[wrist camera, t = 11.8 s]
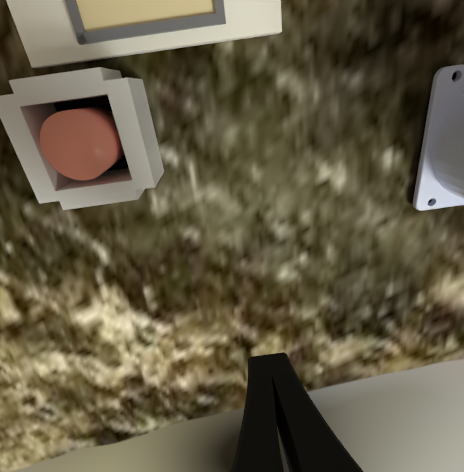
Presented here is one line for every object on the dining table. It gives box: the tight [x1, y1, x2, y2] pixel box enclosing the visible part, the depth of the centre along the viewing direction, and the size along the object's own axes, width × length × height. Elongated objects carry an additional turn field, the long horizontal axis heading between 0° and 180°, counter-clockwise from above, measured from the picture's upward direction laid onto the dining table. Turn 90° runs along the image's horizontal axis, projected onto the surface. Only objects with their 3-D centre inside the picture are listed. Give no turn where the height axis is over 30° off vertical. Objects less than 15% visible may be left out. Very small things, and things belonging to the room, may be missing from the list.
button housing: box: [0, 67, 164, 210], centre depth 15 cm, size 6×6×3 cm
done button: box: [40, 107, 125, 180], centre depth 14 cm, size 3×3×3 cm
